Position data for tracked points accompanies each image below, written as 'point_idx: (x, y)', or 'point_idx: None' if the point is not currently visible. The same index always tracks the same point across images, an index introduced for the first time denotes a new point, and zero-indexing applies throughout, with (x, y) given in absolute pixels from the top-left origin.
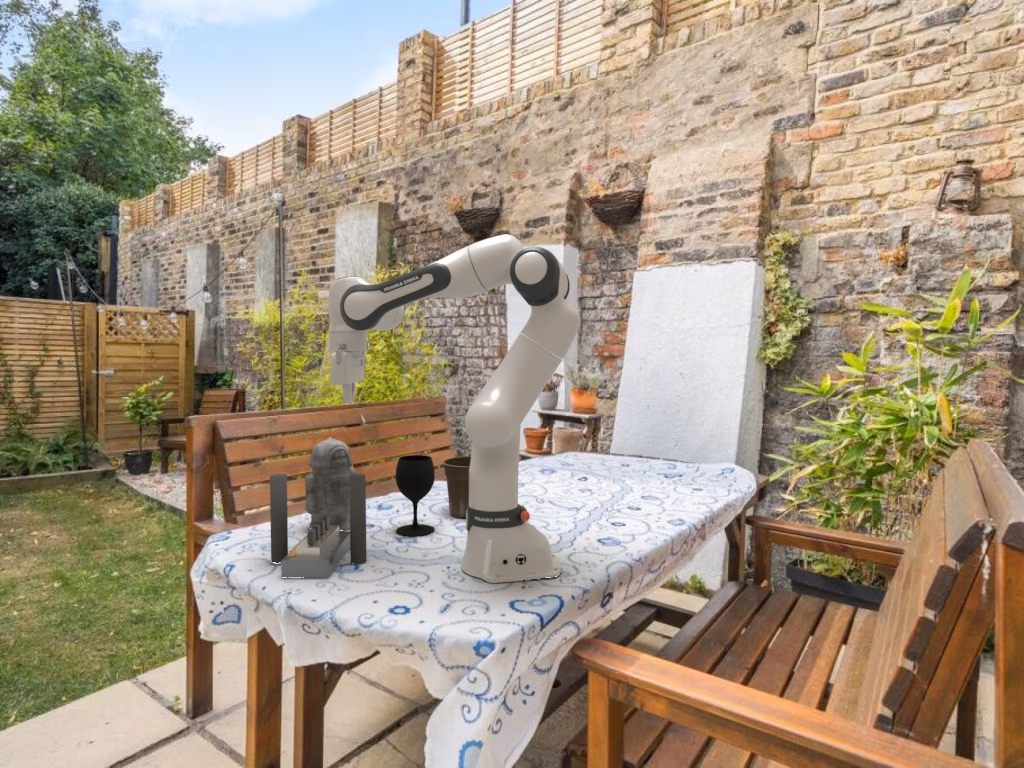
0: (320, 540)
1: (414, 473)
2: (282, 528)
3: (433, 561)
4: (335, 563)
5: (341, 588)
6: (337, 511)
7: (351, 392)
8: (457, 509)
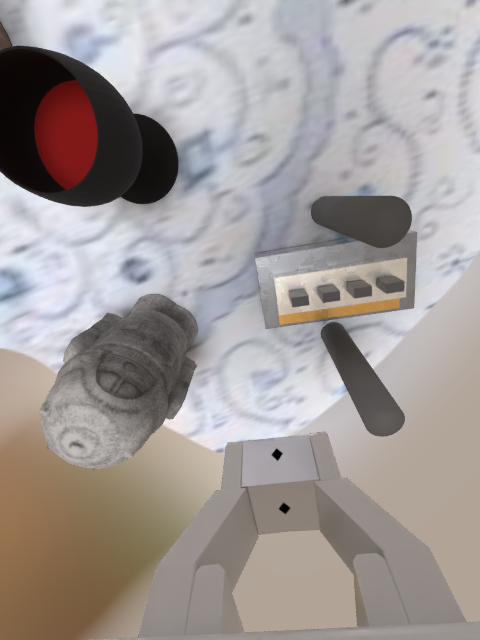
0: (365, 273)
1: (123, 114)
2: (358, 349)
3: (314, 51)
4: None
5: (445, 189)
6: (173, 323)
7: (352, 496)
8: None
